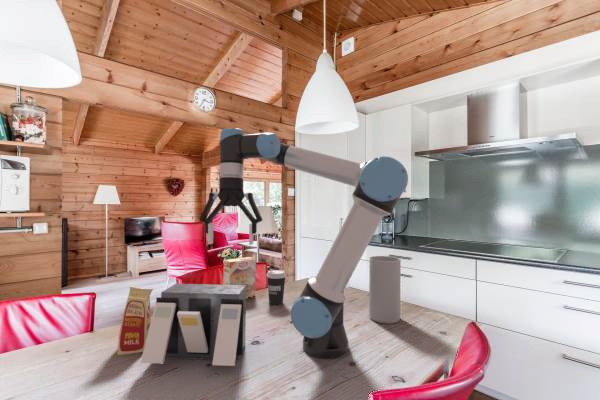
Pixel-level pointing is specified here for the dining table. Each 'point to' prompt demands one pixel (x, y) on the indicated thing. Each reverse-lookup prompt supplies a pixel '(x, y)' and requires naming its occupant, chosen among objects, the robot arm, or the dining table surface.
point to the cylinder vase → (384, 289)
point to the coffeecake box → (241, 273)
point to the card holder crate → (203, 315)
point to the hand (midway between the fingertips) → (230, 244)
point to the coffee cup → (276, 286)
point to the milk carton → (135, 322)
